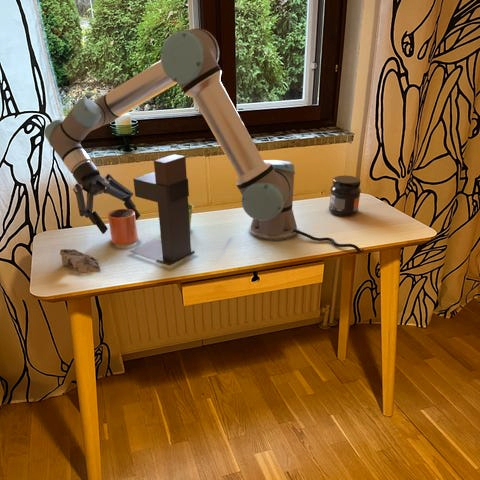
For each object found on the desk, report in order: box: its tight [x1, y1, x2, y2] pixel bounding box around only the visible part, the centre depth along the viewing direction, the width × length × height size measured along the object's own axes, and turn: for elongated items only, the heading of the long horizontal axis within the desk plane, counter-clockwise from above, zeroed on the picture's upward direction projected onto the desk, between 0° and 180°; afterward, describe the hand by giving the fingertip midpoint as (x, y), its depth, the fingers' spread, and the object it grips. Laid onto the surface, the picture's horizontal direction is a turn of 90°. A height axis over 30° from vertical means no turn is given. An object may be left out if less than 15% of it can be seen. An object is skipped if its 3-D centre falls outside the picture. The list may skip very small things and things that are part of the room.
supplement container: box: [328, 174, 362, 217], centre depth 180 cm, size 10×10×12 cm
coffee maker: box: [128, 153, 195, 267], centre depth 144 cm, size 16×11×30 cm, turn 54°
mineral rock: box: [59, 248, 101, 274], centre depth 144 cm, size 15×8×4 cm, turn 36°
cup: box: [107, 208, 139, 246], centre depth 157 cm, size 8×8×10 cm
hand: (122, 224), depth 156 cm, fingers open, 13 cm apart
